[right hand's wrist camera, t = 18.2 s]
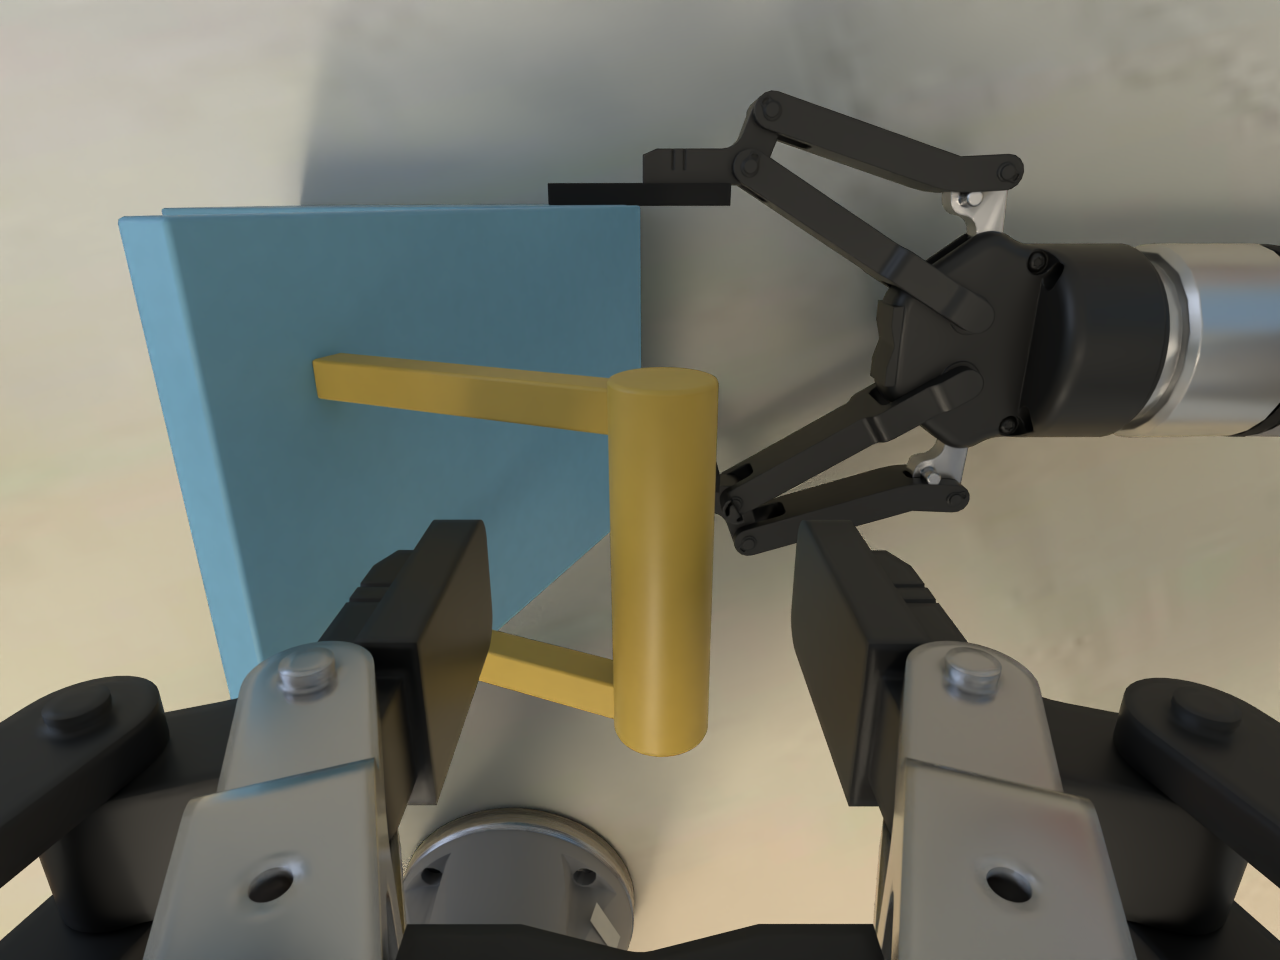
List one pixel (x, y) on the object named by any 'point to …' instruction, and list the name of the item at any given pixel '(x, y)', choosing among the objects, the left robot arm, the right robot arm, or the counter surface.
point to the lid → (437, 432)
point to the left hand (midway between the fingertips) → (558, 343)
